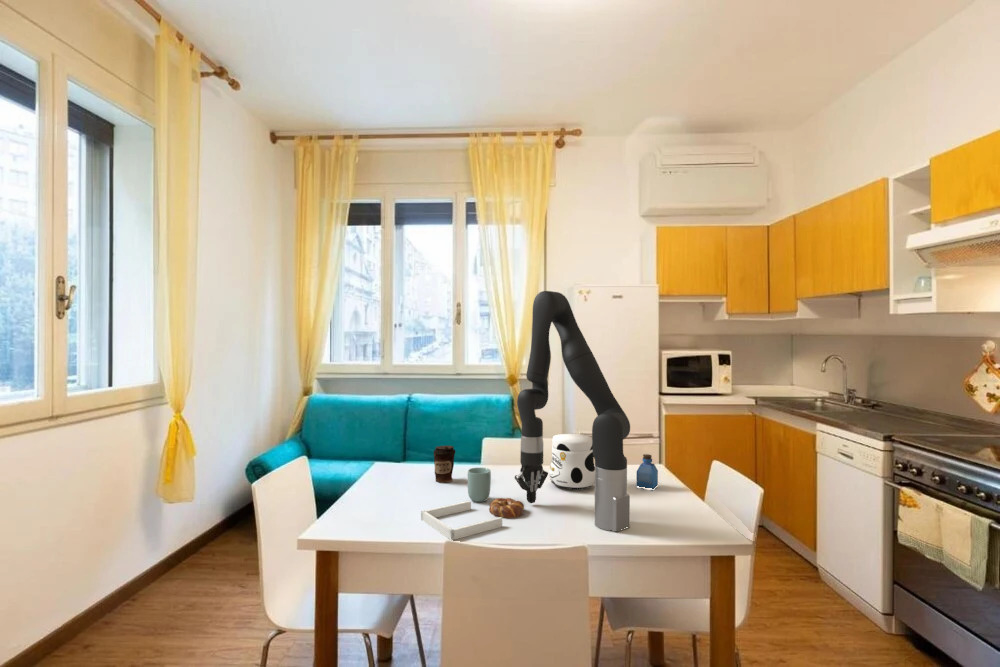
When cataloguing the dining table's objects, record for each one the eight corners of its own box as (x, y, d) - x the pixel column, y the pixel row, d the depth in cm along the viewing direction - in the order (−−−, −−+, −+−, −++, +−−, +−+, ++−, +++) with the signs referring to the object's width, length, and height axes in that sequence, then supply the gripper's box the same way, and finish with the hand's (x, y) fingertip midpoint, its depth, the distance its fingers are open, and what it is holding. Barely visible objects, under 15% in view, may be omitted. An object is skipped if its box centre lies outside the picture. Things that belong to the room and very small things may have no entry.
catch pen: (502, 526, 136) (502, 517, 136) (451, 540, 126) (451, 531, 126) (469, 508, 150) (469, 500, 150) (421, 519, 140) (421, 511, 140)
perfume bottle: (657, 486, 176) (657, 454, 176) (653, 491, 171) (653, 458, 171) (641, 484, 179) (641, 452, 179) (636, 488, 174) (636, 455, 174)
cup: (487, 504, 154) (487, 474, 154) (464, 503, 155) (465, 472, 156) (492, 497, 161) (493, 468, 162) (470, 495, 163) (471, 466, 163)
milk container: (539, 485, 175) (540, 437, 176) (566, 476, 188) (566, 431, 188) (579, 496, 163) (579, 444, 164) (604, 485, 176) (605, 437, 177)
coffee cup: (453, 484, 176) (454, 449, 176) (431, 484, 176) (431, 449, 176) (456, 477, 184) (456, 444, 185) (435, 477, 184) (435, 444, 185)
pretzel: (480, 512, 148) (480, 500, 148) (504, 504, 156) (504, 493, 156) (507, 522, 139) (507, 510, 140) (531, 513, 147) (531, 501, 147)
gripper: (523, 454, 147) (522, 509, 147) (554, 449, 155) (554, 501, 155) (509, 449, 153) (508, 502, 153) (539, 444, 161) (539, 495, 161)
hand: (531, 502), depth 154 cm, fingers closed
